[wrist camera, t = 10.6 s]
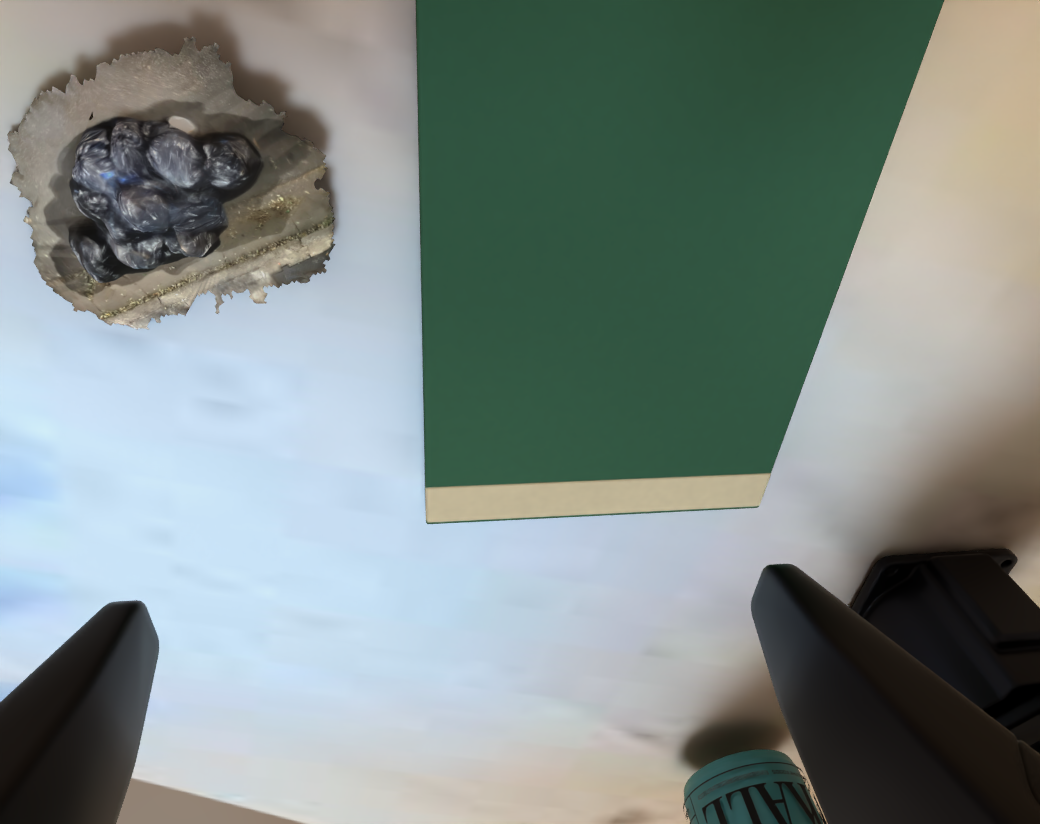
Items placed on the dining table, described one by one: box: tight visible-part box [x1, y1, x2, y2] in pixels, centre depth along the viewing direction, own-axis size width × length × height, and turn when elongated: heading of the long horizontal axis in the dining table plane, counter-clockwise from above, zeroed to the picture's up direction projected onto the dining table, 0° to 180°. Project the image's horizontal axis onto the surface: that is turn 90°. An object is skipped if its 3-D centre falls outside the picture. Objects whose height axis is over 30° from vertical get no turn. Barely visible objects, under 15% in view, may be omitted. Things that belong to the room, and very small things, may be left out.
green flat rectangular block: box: [416, 0, 944, 524], centre depth 18 cm, size 20×12×1 cm, turn 176°
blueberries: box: [7, 37, 335, 330], centre depth 16 cm, size 7×8×2 cm
